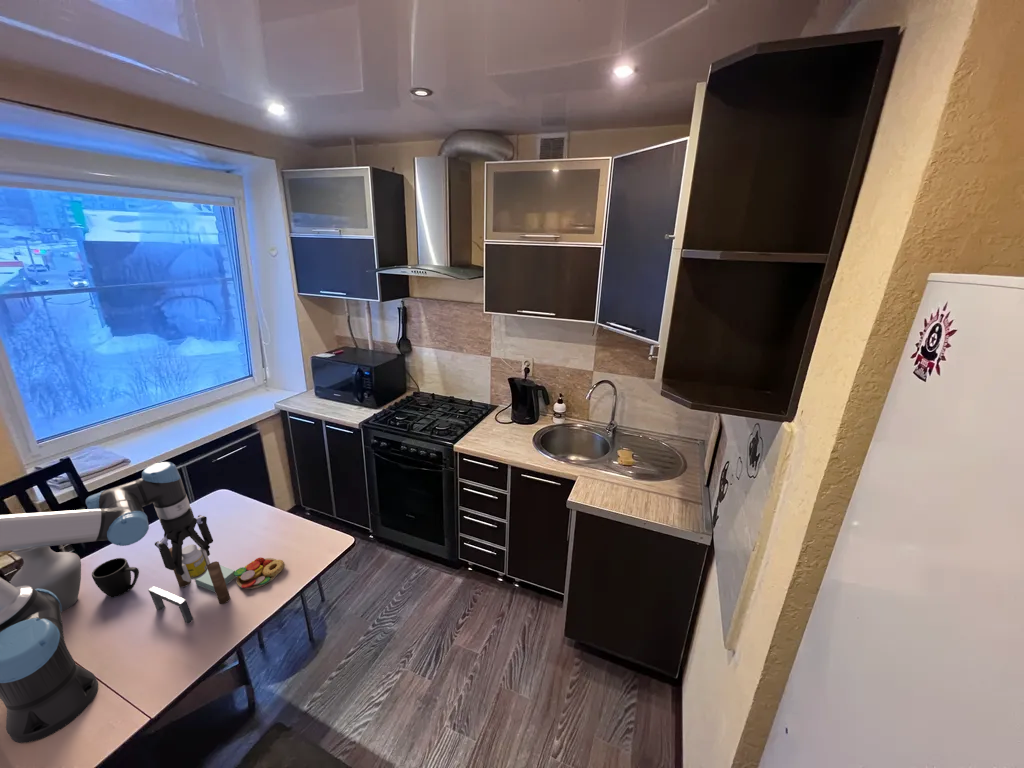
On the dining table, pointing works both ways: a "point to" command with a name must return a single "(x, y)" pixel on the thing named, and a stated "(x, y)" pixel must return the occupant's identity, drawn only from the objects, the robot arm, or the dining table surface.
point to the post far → (179, 576)
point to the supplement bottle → (194, 561)
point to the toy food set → (258, 572)
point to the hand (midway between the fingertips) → (197, 572)
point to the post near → (218, 582)
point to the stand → (207, 583)
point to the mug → (115, 577)
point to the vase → (50, 573)
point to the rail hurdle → (160, 594)
